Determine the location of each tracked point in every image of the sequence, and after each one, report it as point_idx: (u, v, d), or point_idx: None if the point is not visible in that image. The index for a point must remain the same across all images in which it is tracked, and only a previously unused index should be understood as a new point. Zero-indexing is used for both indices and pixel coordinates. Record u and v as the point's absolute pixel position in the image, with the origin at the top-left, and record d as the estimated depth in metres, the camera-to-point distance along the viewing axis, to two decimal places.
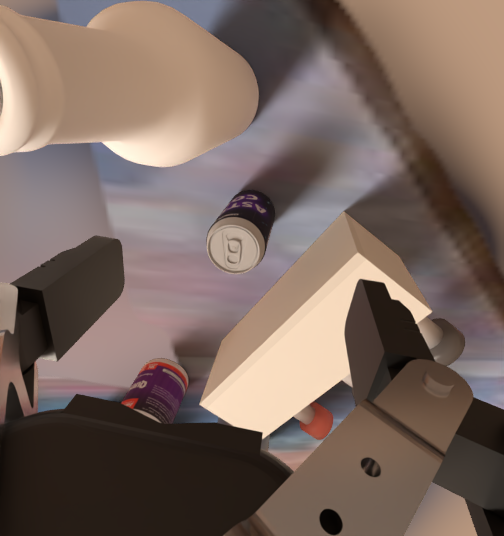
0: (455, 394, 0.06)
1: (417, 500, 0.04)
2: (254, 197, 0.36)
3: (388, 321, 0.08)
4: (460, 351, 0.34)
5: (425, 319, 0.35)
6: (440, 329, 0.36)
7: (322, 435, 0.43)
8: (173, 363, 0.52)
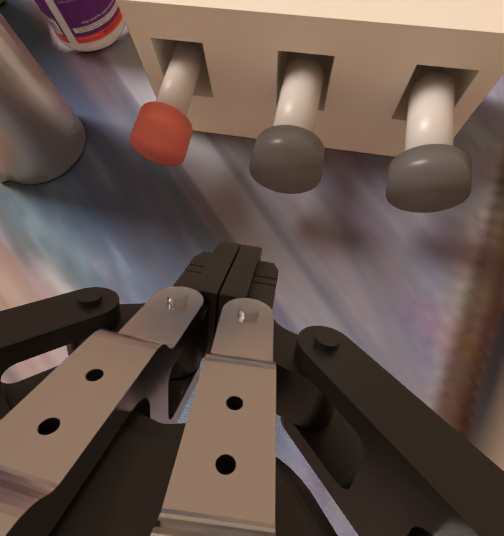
0: (255, 321, 0.07)
1: (273, 404, 0.05)
2: None
3: (241, 274, 0.09)
4: (465, 176, 0.20)
5: (453, 134, 0.23)
6: None
7: (153, 126, 0.22)
8: (124, 20, 0.37)
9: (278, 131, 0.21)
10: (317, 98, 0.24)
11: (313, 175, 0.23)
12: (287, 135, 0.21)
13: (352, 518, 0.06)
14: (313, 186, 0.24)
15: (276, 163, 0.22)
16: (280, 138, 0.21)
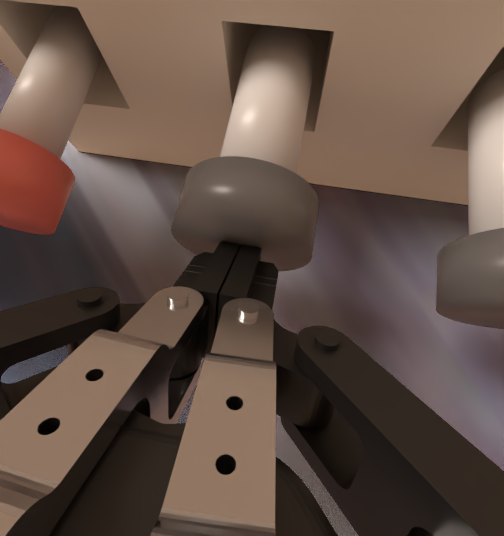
0: (255, 321, 0.07)
1: (273, 404, 0.05)
2: None
3: (241, 274, 0.09)
4: None
5: None
6: None
7: None
8: None
9: (221, 170, 0.10)
10: (304, 99, 0.13)
11: (296, 253, 0.11)
12: (238, 180, 0.10)
13: (352, 518, 0.06)
14: (297, 266, 0.13)
15: (220, 233, 0.11)
16: (223, 186, 0.10)
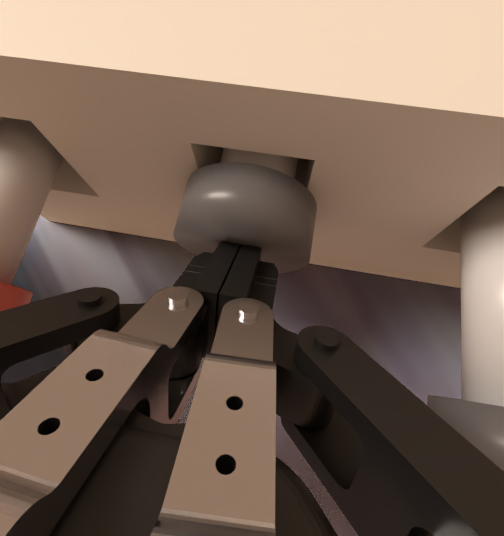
0: (255, 321, 0.07)
1: (273, 404, 0.05)
2: None
3: (241, 274, 0.09)
4: None
5: None
6: None
7: None
8: None
9: (222, 176, 0.10)
10: None
11: (295, 256, 0.12)
12: (239, 185, 0.10)
13: (352, 518, 0.06)
14: (296, 268, 0.13)
15: (221, 237, 0.11)
16: (225, 191, 0.10)
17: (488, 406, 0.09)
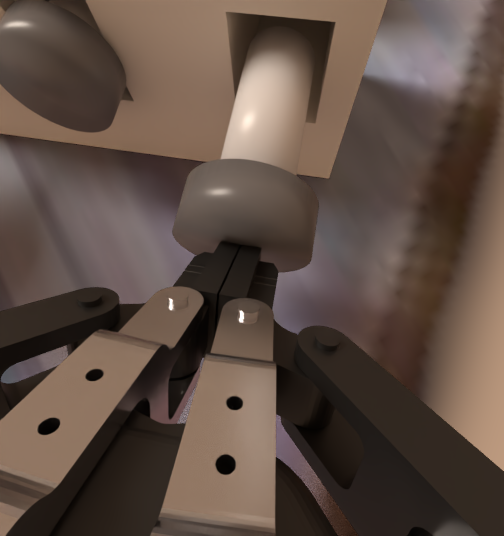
0: (254, 321, 0.07)
1: (273, 404, 0.05)
2: None
3: (241, 274, 0.09)
4: (284, 225, 0.10)
5: (299, 137, 0.13)
6: None
7: None
8: None
9: (12, 9, 0.13)
10: None
11: (92, 91, 0.14)
12: (22, 14, 0.12)
13: (351, 517, 0.06)
14: (110, 115, 0.15)
15: (24, 70, 0.14)
16: (10, 19, 0.12)
17: (193, 170, 0.11)
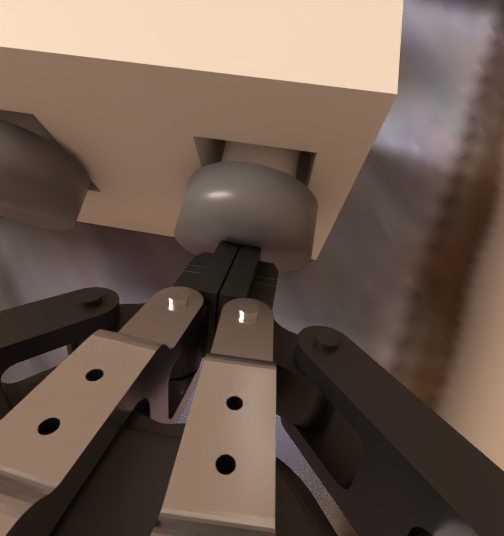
0: (255, 321, 0.07)
1: (273, 404, 0.05)
2: None
3: (241, 274, 0.09)
4: (285, 227, 0.10)
5: None
6: None
7: None
8: None
9: None
10: None
11: (47, 205, 0.12)
12: None
13: (352, 518, 0.06)
14: (71, 221, 0.14)
15: None
16: None
17: (195, 172, 0.11)
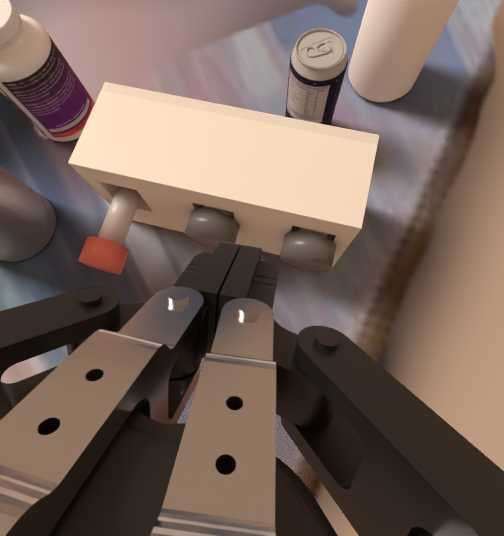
0: (254, 321, 0.07)
1: (273, 404, 0.05)
2: None
3: (240, 274, 0.09)
4: (324, 256, 0.29)
5: None
6: None
7: (93, 258, 0.30)
8: None
9: (202, 213, 0.30)
10: None
11: (228, 242, 0.32)
12: (207, 217, 0.30)
13: (352, 517, 0.06)
14: None
15: (201, 233, 0.31)
16: (202, 219, 0.30)
17: (291, 232, 0.30)
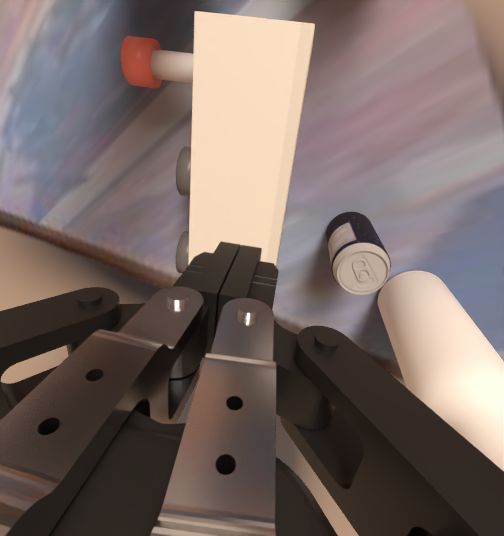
0: (255, 321, 0.07)
1: (273, 404, 0.05)
2: None
3: (241, 274, 0.09)
4: (178, 270, 0.38)
5: None
6: None
7: (125, 62, 0.30)
8: None
9: None
10: None
11: None
12: (187, 176, 0.33)
13: (352, 518, 0.06)
14: None
15: None
16: (185, 171, 0.33)
17: None
